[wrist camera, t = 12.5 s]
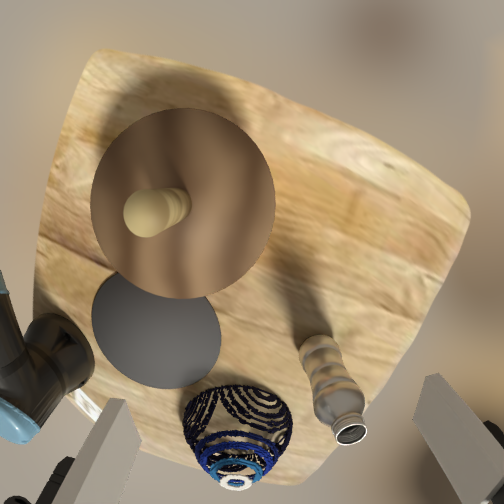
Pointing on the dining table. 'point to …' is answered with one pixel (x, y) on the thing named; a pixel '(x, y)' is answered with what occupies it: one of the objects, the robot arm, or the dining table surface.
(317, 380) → the plastic bottle
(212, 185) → the lid
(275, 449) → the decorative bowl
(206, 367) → the mat
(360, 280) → the dining table surface
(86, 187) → the dining table surface
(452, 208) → the dining table surface
